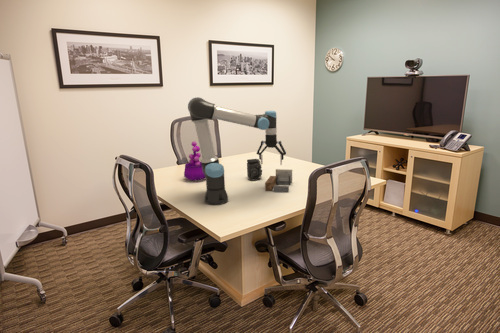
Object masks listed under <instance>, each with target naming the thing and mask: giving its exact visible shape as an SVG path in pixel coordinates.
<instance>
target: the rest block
mask: <svg viewBox="0 0 500 333" xmlns="http://www.w3.org/2000/svg"><path fill="white" fill-rule="evenodd" d="M289 192H290V185H275V186H274V187H273V193H289Z"/></svg>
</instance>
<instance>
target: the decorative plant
mask: <svg viewBox="0 0 500 333" xmlns="http://www.w3.org/2000/svg"><path fill="white" fill-rule="evenodd" d="M197 144H198V142H196V141H192V142H191V146H192V148H191V150H192V152H193V153H191V154H189V155H188V158H189V161H188V162H186V163H185V164H184V172H183V177H185V179H187V180H189V181H195V182H197V181H202V180H204V179H206V178H205V175H204V174H203V171H202V164H201V160H200V158H201V157H202V154H201V152H200V151H201V149H200V145H199V146H198V145H197Z"/></svg>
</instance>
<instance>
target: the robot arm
mask: <svg viewBox="0 0 500 333" xmlns="http://www.w3.org/2000/svg"><path fill="white" fill-rule="evenodd" d="M187 110H188V112H189V116H190V119H191V122H192V123H193V124H194V127H195V132H196V136H197V139H198V144H199V147H200V154H201V157H202V159H201V160H200V161H201V164H202V171H203V174H204V175H205V178H204V179H205V185H206V191H205V195H204V198H203V199H204V203H205V204H206V205H210V206H219V205H223V204H227V202H228V201H229V196H228V193H227V191H226V183H225V182H226V181H225V168H224V165H223V164H222V163H220V160H219V157H218V156H216V152H215V148H214V142H213V140H212V134H211V129H210V125H209V120H211V121H212V120H219V121H222V122H228V123H232V124H237V125H241V126H246V127H250V128H255V129H258V130H262V131H265V140H261V141H260V145H259V147H258V149H257V151H256V155H258V156H259V158H258V159H259V160H260V164H261V166H262V165H263V153H264V152H265V151H266V149H267V148H268V149H270V148H271V149H272V148H275V149H276V151H277V152H278V153H279V154H280V156H279V160H280V166H282V165H283V160H284V156H286V155H287V152H286V149H285V148H284V146H283V144H282V140H277V130H278V129H277V117H278V116H277V112H276V110H266V111H264V113H263V114H251V113H247V112H243V111H238V110H234V109H229V108H225V107H222V106H218V105H216V103H212V102H210V101H208V100H206V99H204V98H202V97H192V98H191V99H190V100H189V102H188V104H187ZM264 144H265V146H264V148H263V145H264ZM278 145H279V147H280V148H279V147H278ZM261 149H262V150H261Z"/></svg>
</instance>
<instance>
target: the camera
mask: <svg viewBox="0 0 500 333" xmlns="http://www.w3.org/2000/svg"><path fill="white" fill-rule="evenodd" d="M246 161H247V162H246V168H247V169H246V170H247V171H246V174H247V175H246V176H247V178H248V180H249V181H255V180H256V181H258V180H260V178H261V177H262V176H263V169H262V168H263V167H262V165H261V160H260V159H259V158H252V159H247V160H246Z"/></svg>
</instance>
